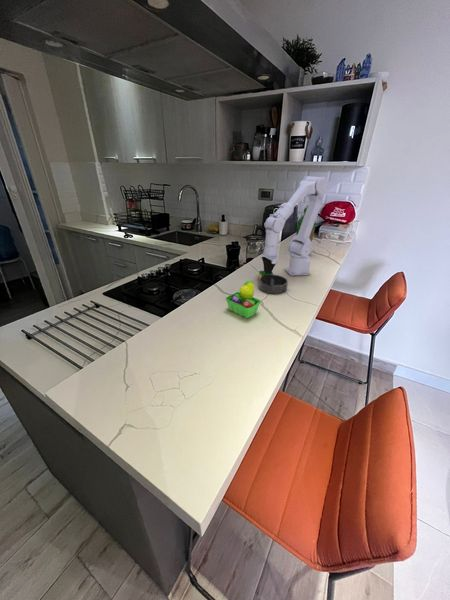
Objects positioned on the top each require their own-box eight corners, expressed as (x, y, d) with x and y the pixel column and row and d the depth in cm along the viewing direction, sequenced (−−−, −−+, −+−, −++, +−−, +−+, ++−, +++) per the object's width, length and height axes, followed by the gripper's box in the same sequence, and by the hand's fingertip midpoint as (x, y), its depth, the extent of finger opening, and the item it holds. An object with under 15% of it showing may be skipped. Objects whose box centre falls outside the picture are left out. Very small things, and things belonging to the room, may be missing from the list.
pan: (281, 281, 120) (282, 274, 118) (290, 293, 109) (292, 285, 107) (255, 282, 118) (256, 275, 116) (263, 294, 108) (263, 286, 106)
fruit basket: (224, 309, 96) (224, 282, 91) (239, 301, 102) (240, 275, 97) (247, 321, 90) (249, 292, 84) (262, 312, 95) (265, 284, 90)
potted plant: (312, 257, 151) (322, 207, 138) (294, 256, 151) (302, 206, 138) (307, 251, 161) (316, 204, 147) (290, 251, 161) (297, 203, 147)
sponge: (258, 279, 123) (259, 270, 121) (269, 279, 124) (270, 270, 122) (260, 282, 120) (261, 274, 118) (272, 282, 121) (273, 273, 119)
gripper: (258, 240, 120) (255, 267, 126) (267, 249, 107) (263, 279, 113) (272, 240, 121) (269, 267, 127) (283, 249, 108) (278, 279, 114)
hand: (267, 273), depth 120 cm, fingers closed on sponge, 2 cm apart
